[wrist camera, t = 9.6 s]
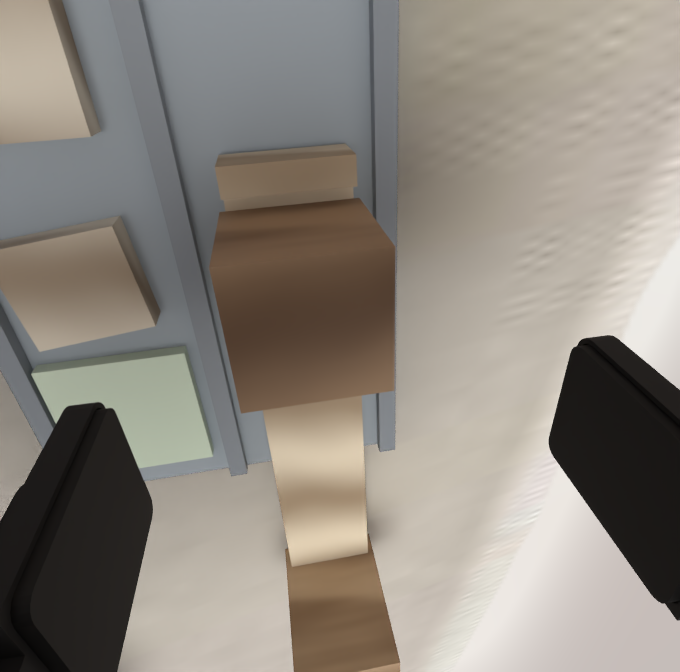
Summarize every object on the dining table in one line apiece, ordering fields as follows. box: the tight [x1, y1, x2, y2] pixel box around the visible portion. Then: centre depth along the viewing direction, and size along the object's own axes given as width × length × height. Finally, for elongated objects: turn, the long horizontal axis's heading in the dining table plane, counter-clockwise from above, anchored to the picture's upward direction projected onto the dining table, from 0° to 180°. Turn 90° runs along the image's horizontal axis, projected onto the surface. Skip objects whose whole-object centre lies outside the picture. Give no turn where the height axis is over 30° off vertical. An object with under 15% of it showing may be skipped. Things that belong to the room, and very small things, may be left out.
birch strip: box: [215, 144, 400, 672], centre depth 20 cm, size 25×5×7 cm, turn 3°
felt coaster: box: [31, 346, 214, 468], centre depth 21 cm, size 6×6×1 cm
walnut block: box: [209, 198, 395, 414], centre depth 15 cm, size 5×5×5 cm
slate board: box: [0, 0, 399, 481], centre depth 17 cm, size 26×16×1 cm, turn 3°
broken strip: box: [0, 0, 161, 352], centre depth 14 cm, size 16×5×1 cm, turn 3°
